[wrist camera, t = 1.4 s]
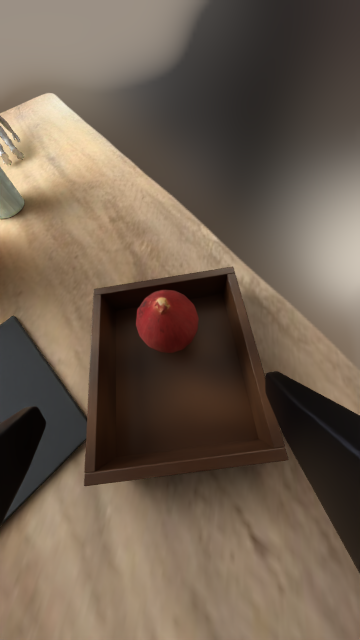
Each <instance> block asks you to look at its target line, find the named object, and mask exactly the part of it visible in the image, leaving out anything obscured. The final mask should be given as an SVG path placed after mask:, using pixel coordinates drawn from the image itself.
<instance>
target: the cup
mask: <svg viewBox="0 0 360 640" xmlns="http://www.w3.org/2000/svg"><path fill="white" fill-rule="evenodd" d="M23 206H24V199H23V198H22V196H21V195H20V194H19V192H18V191H17V189H16V188H15V187H14V185H13V184H12V182H11V181H10V180H9V178H8V177H7V176H6V174H5V173H4V171H3V170H2V169H1V167H0V218H8V217H11V216H13V215H15V214H17V213H18V212H19V211H20V210H21V209H22V208H23Z"/></svg>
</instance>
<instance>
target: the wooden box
mask: <svg viewBox="0 0 360 640" xmlns="http://www.w3.org/2000/svg"><path fill="white" fill-rule="evenodd" d="M161 290H174V291H177V292H179V293H181V294H183V295H185V296H186V297H187V298H188V299H189V300H190V301H191V302H192V303H193V304H194V306H195V309H196V312H197V315H198V318H199V320H198V330H197V332H196V334H195V336H194V338H193V340H192V342H191V343H190V344H189V345H187V346H186V347H185V348H184V349H183V350H180V351H176V352H173V353H166V352H159V351H157V350H155V349H153V348H150V347H148V345H147V344H146V343H145V342H144V341H143V340H142V338H141V337H140V336H139V333H138V330H137V327H136V319H137V310H138V308H139V307H140V305H141V304H142V302H143V301H144V299H145V298H146V297H148V296H149V295H151V294H152V293H153V292H157V291H161ZM286 460H288V456H287V452H286V449H285V445H284V441H283V438H282V434H281V431H280V427H279V424H278V421H277V419H276V416H275V414H274V412H273V409H272V407H271V405H270V402H269V400H268V398H267V395H266V391H265V375H264V372H263V368H262V365H261V361H260V358H259V355H258V351H257V348H256V344H255V341H254V337H253V334H252V330H251V327H250V323H249V320H248V316H247V313H246V309H245V306H244V303H243V299H242V296H241V292H240V289H239V285H238V282H237V278H236V275H235V271H234V268H233V267H228V268H221V269H215V270H209V271H203V272H197V273H190V274H184V275H178V276H172V277H166V278H160V279H153V280H147V281H141V282H135V283H129V284H122V285H116V286H110V287H104V288H98V289H94V296H93V315H92V335H91V355H90V375H89V394H88V414H87V434H86V454H85V479H84V486H90V485H98V484H106V483H114V482H121V481H129V480H137V479H145V478H153V477H161V476H168V475H176V474H184V473H192V472H200V471H208V470H215V469H223V468H231V467H239V466H247V465H254V464H262V463H270V462H278V461H286Z"/></svg>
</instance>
